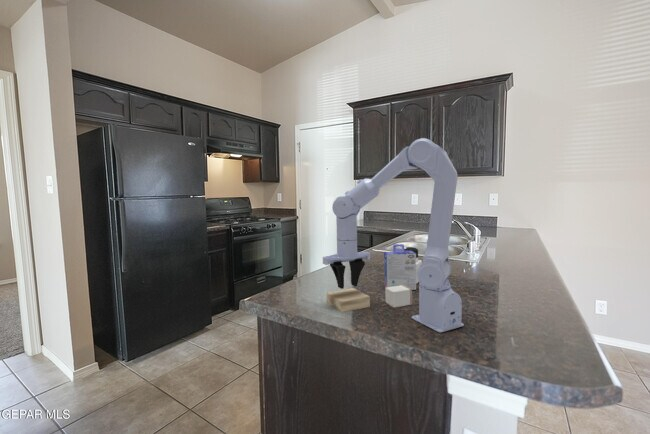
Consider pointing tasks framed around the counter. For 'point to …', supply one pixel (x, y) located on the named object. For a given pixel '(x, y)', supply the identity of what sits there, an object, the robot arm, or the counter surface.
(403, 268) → the ink cartridge box
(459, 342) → the counter surface
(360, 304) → the maple block
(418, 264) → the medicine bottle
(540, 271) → the counter surface
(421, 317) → the robot arm
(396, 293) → the off-white cardboard box
